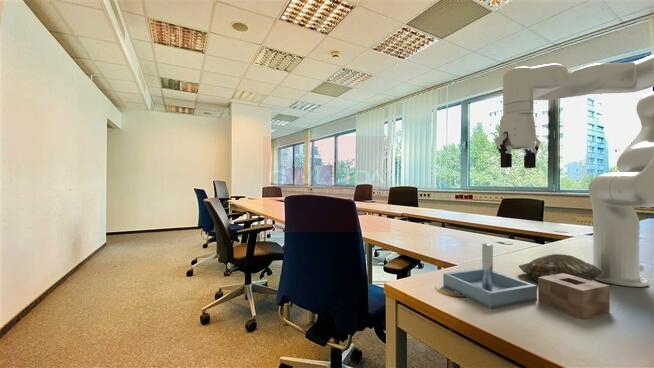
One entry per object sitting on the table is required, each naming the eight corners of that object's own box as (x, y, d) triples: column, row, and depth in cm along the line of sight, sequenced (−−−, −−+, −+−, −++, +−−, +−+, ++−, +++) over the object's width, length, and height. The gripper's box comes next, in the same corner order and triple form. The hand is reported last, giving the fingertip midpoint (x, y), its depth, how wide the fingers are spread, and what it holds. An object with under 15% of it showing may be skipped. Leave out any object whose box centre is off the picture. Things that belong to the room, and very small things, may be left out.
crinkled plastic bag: (504, 256, 88) (552, 241, 92) (509, 284, 88) (557, 267, 93) (557, 270, 72) (612, 251, 77) (563, 304, 72) (618, 283, 77)
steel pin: (486, 288, 74) (486, 243, 74) (494, 291, 72) (495, 245, 72) (479, 289, 74) (480, 243, 73) (487, 292, 71) (487, 245, 71)
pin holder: (563, 297, 70) (563, 273, 70) (609, 312, 61) (609, 285, 61) (538, 302, 67) (538, 277, 67) (582, 319, 58) (582, 290, 58)
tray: (484, 279, 82) (484, 268, 82) (537, 299, 68) (536, 285, 68) (443, 286, 78) (443, 273, 78) (490, 308, 63) (490, 293, 63)
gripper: (526, 115, 90) (526, 168, 90) (485, 111, 84) (485, 168, 84) (551, 110, 83) (551, 167, 83) (508, 104, 77) (508, 166, 77)
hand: (518, 167), depth 83 cm, fingers open, 9 cm apart
